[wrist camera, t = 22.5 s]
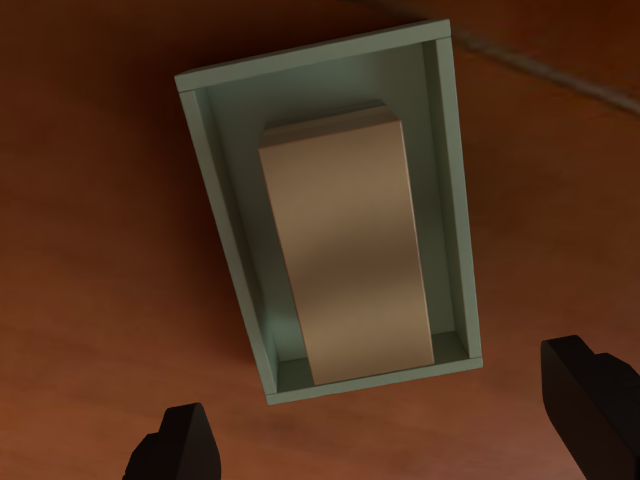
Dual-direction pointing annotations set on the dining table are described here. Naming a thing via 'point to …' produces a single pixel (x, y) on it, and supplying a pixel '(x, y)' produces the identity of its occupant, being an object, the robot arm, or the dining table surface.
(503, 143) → the dining table surface
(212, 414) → the dining table surface
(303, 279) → the eraser
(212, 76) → the tray
